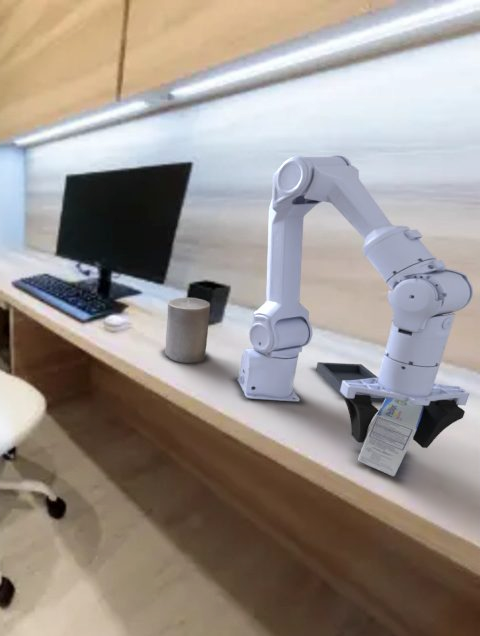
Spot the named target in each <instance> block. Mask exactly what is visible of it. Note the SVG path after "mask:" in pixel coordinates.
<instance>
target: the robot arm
mask: <svg viewBox="0 0 480 636" xmlns="http://www.w3.org/2000/svg"><path fill="white" fill-rule="evenodd" d="M359 172H360V170H359V169H358V167H356V166H354V165H352V163H351V160H350V159H348V157H346V156H345V155H344V156H343V155H339V154H338V155H331V156H302V155H296V156H292V157H289V158H288V159H287V160H285V161H284V162H283V163H282V164H281V165H280V167H279V168H278V169H277V170H276V171H275V173H273V175H272V197H271V201H270V203H269V208H268V224H267V225H268V226H267V227H268V228H267V257H266V258H267V260H266V285H265V286H266V287H265V288H266V289H265V290H266V293H265V302H264V303H263V304H262V305H261V306H260V307H259V308H258V309H256V310H255V312H253V316H252V323H251V325H250V327H249V331H248V337H249V341H250V343H251V345H252V348H245V349H243V351H242V353H241V358H240V366H239V367H240V368H239V372H238V373H239V374H238V378H237V382H238V384H239V386H240V388H241V389H242V392H243V393H244V396H245V398H247V399H251V400H252V399H254V400H266V401H267V400H268V401H283V402H300V397H299V396H298V395H297V393H296V392H295V391H294V390H293V388H294V380H295V376H296V372H297V366H298V362H299V355H300V353H303V352H302V351H303V347H306V346H307V345H308V344H310V342H311V341H312V338H313V328H312V325H311V323H310V322H311V321H310V312H309V310H308V309H307V308H306V307H305V306H304V305H303V304H301V302H300V299H301V279H302V277H301V276H302V258H303V240H304V239H303V236H304V219H305V218H304V217H305V216H306V215H307V214H308V213H310V211H311V210H313V209H314V207H317V206H318V205H319V204H321V203H329V204H331V205H332V206H333V207H334V208H335V209H336V210H337V211H338V212H339V214H341V215H342V216H343V218H344V219H345V220H346V221H348V223H349V224H350V225H351V226H352V227H353V228H354V229H355V231H357V233H359V235H360V236H361V237H362V238H363V239H364V243H363V246H362V253H363V255H364V256H365V257H366V259H367V260H368V261H369V263H370V264H371V265H372V266H373V268H374V269H375V270H376V272H377V273H378V274H379V276H380V277H381V278H382V279H383V281H384V282H385V283H386V285H387V286H388V287H389V289H390V290H388V293H387V301H388V304H389V306H390V308H391V310H392V317H391V322H392V324H391V327H390V331H389V335H388V339H387V343H386V347H385V351H384V355H383V358H382V362H381V365H380V370H379V372H378V373H379V374H378V376H377V377H378V378H369V379H361V380H342V385H341V389H340V392H341V393H342V395H343V397H344V398H343V397H342V398H343V399H344V402H345V404H346V407H347V411H348V415H349V420H350V434H351V437H352V438H353V439H354V440H355V441H356V442H357V443H359V444H364V442H365V440H366V437H367V435H368V433H369V429H370V426H371V424H372V422H373V420H374V418H375V417H376V415H377V414H378V412H379V410H380V409H378V408H377V407H376V406H375V405H373V402H374V400H370V399H371V397H372V398H389V399H399V400H404V401H409V402H410V403H412V404H414V405H422V406H423V407H424V409H423V412H422V415H421V418H420V421H419V424H418V427H417V430H416V432H415V434H414V436H413V438H412V441H414V442H415V443H416V444H418V446H419V447H421V448H422V449H428V448H429V446H430V445H431V444H433V442H434V441H435V439H437V438H438V436H439V435H440V434H441V433H442V432H444V430H446V428H448V427H449V426H451V425H452V424H454V423H456V422H457V421H460V420H461V419H463V418H464V416H465V413H466V411H465V409H463V408H461V407H460V406H466V405H467V403H468V399H469V397H470V392H469V391H467V390H465V389H463V388H462V387H461V386H458V385H448V384H447V385H446V384H440V383H435V382H436V378H437V375H438V372H439V368H440V366H441V362H442V359H443V356H444V354H445V350H446V346H447V344H448V340H449V337H450V335H451V330H452V327H453V324H454V321H455V317H456V312H459V311H461V310H463V309H465V308H466V307H467V306H468V305H469V304H470V302H471V301H472V299H473V296H474V289H473V285H472V283H471V281H470V280H469V277H468V275H467V274H465V273H463V272H462V271H459V270H457V269H452V268H451V269H450V268H447V265H446V263H445V262H444V261H443V260H442V259H437V258H436V257H435V256H434V254H433V253H432V252H431V251H430V250H429V249H428V247H427V246H426V245H425V244H424V243H423V242H422V241H421V239H422V238H423V235H422V233H421V232H420V231H419V230H418V229H411V228H410V227H408V226H407V225H394V224H393V223H392V222H391V221H390V219H389V218H388V216H386V214H385V213H384V212H383V210H382V209H381V207H380V206H379V204H378V203H377V202H376V200H375V198H373V195H371V193H370V192H369V191H368V189H367V188H366V187H365V185H364V183H363V182H362V181H361V179H360V173H359Z"/></svg>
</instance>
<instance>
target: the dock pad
mask: <svg viewBox="0 0 480 636" xmlns="http://www.w3.org/2000/svg"><path fill="white" fill-rule="evenodd" d="M315 371H317V372H318V373H319V375H320V376H321V377H322V378H324V380H325V381H326V382H327V383H328V384H329V385H330V386H331V387H332V388H333V389H334V390H335V391H336V392H337V393H338V394H339V395H340V396H341V397H342V398H343V399H344V397H343V395H342V393H341V392H340V389H341V385H342V380H361V379H369V378H378V377H379V376H377V375H376V374H374V373H373V372H372V371H371V370H369V369H368V368H367V367H365V366H364V365H363V364H361V363H345V362H343V363H342V362H339V363H338V362H323V361H322V362H321V361H320V362H319V361H318V362H317V364H316V369H315ZM370 400H371V401H373V402H374V401H376V402H384V400H385V398H372V397H371V399H370Z"/></svg>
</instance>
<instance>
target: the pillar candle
mask: <svg viewBox="0 0 480 636" xmlns="http://www.w3.org/2000/svg"><path fill="white" fill-rule="evenodd" d="M210 311H211V303H210V302H209V301H207V300H205V299H201V298H197V297H176V298H172V299H169V300H168V301H167V313H166V314H167V316H166V330H165V332H166V333H165V349H164V354H165V356H167V357H168V358H169V359H170V360H171V361H174V362H178V363H183V364H184V363H185V364H195V363H198V362H202V361H204V360H205V359H206V351H207V343H208V332H209V322H210V314H211V313H210Z"/></svg>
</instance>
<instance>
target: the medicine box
mask: <svg viewBox="0 0 480 636" xmlns="http://www.w3.org/2000/svg"><path fill="white" fill-rule="evenodd" d="M423 409H424V407H423V406H422V405H414V404H412V403H410V402H409V401H404V400H399V399H389V398H385V400H384V401H382V403H381V406H380V408H379V409H378V410H379V411H378V412H377V413H376V415H375V416H374V418H373V420H372V422H371V424H370V427H369V429H368V432H367V436H366V439H365V441H364V442H363V445H362V447H361V449H360V452H359V454H358V456H357V457H358V458H357V461H358V462H360V463H362V464H364V465H366V466H368V467H371V468H372V469H374V470H377V471H379V472H381V473H384V474H386V475H388V476H390V477H395V476H396V474H397V472H398V471H399V468H400V466H401V464H402V461H403V459H404V457H405V455H406V453H407V451H408V449H409V447H410V444H411V443H412V441H413V436H414V434H415V432H416V430H417V427H418V424H419V421H420V418H421V415H422V412H423Z"/></svg>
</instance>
